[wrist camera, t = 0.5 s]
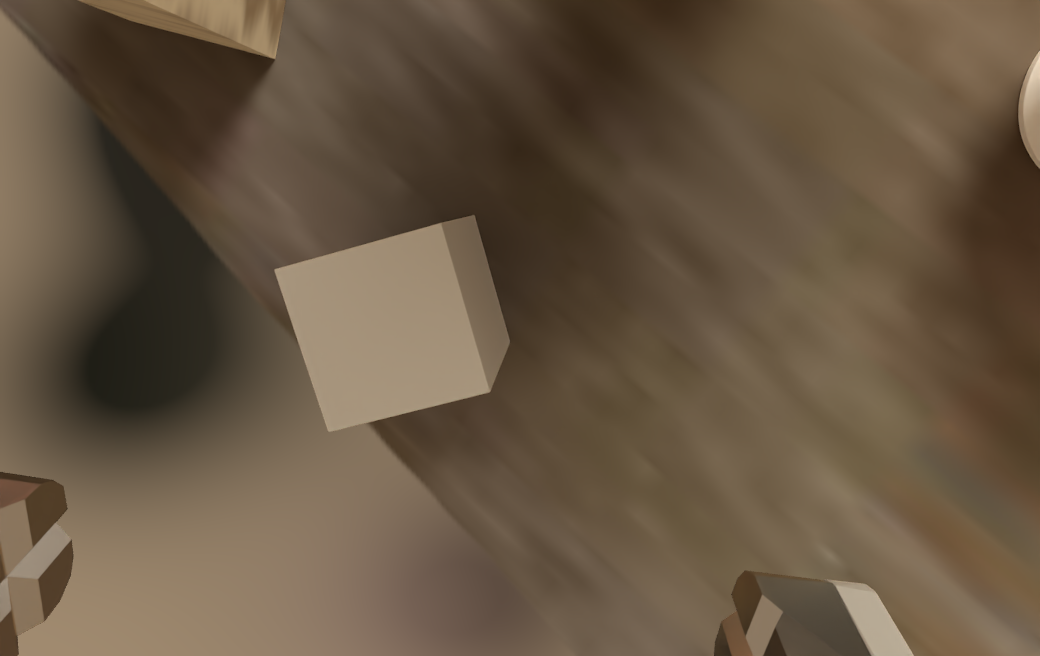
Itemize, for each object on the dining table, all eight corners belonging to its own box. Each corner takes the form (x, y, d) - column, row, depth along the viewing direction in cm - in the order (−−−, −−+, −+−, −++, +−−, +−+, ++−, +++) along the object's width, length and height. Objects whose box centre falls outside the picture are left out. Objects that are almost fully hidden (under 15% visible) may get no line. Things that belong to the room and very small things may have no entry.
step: (348, 249, 54) (274, 269, 41) (474, 214, 53) (440, 222, 40) (387, 373, 56) (328, 432, 42) (510, 341, 55) (489, 392, 41)
